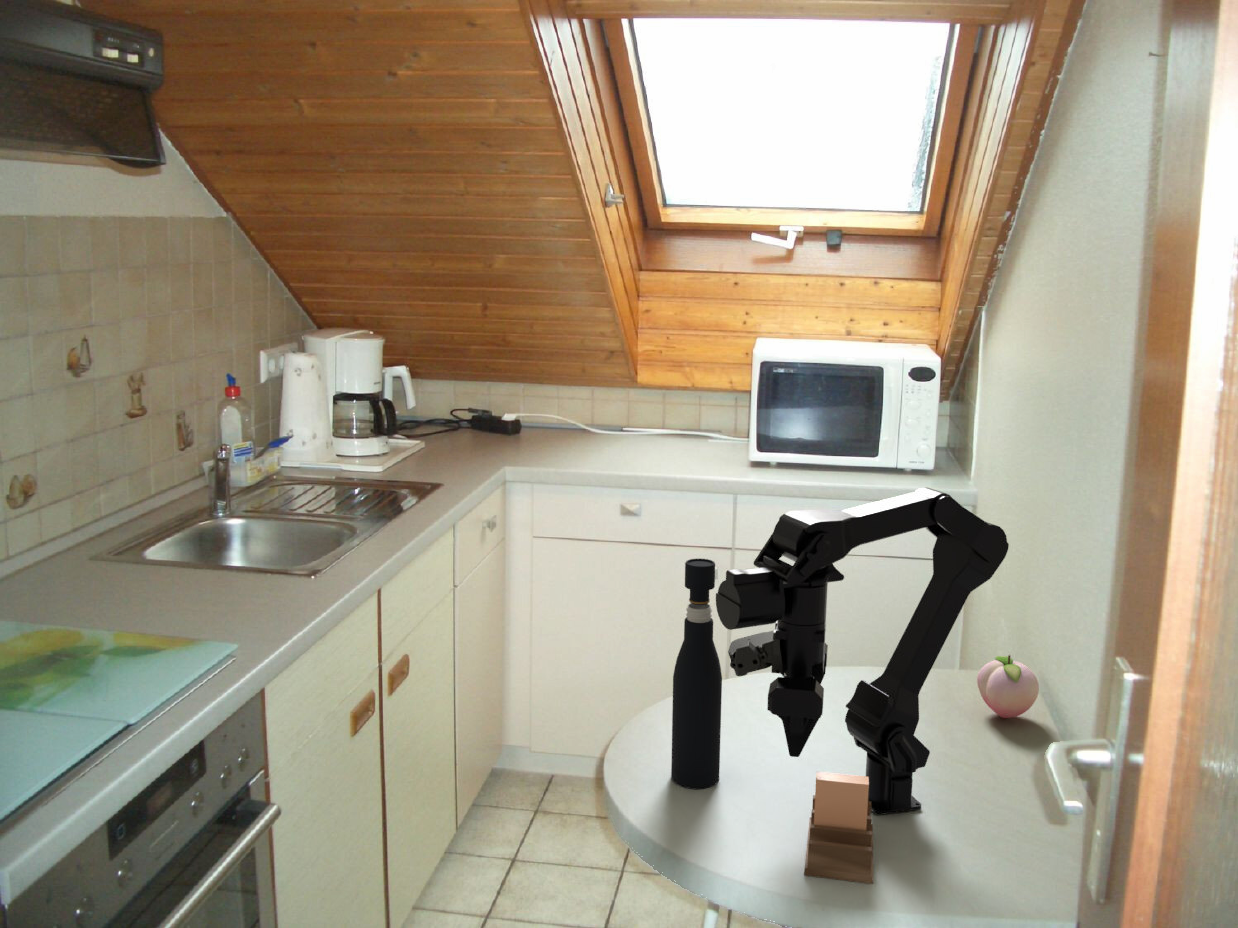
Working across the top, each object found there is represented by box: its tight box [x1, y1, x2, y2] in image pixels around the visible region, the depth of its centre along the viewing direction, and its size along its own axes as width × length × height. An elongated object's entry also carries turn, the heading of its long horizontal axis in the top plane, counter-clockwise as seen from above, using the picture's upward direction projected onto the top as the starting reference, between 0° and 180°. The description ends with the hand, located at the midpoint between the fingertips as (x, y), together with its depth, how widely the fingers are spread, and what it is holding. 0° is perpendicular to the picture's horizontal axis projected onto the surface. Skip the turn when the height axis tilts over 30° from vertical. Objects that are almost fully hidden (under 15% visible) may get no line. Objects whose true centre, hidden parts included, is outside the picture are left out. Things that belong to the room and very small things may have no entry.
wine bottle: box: [670, 558, 723, 790], centre depth 149 cm, size 6×6×30 cm
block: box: [814, 771, 869, 831], centre depth 133 cm, size 2×6×8 cm, turn 79°
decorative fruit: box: [976, 654, 1040, 719], centre depth 171 cm, size 9×8×10 cm
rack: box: [803, 794, 874, 884], centre depth 134 cm, size 12×8×4 cm, turn 168°
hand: (796, 739), depth 139 cm, fingers open, 9 cm apart
